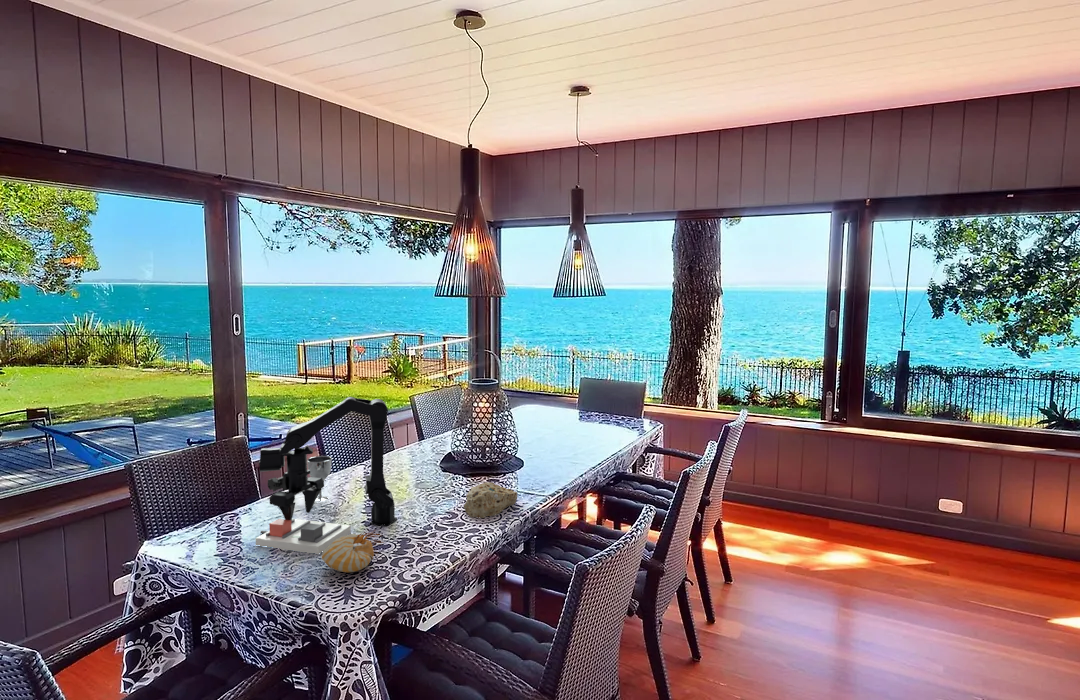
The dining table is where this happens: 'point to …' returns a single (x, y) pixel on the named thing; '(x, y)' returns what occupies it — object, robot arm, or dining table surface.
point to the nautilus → (350, 552)
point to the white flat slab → (295, 543)
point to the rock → (488, 500)
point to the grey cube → (311, 532)
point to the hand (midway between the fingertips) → (298, 517)
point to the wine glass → (319, 470)
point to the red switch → (280, 527)
